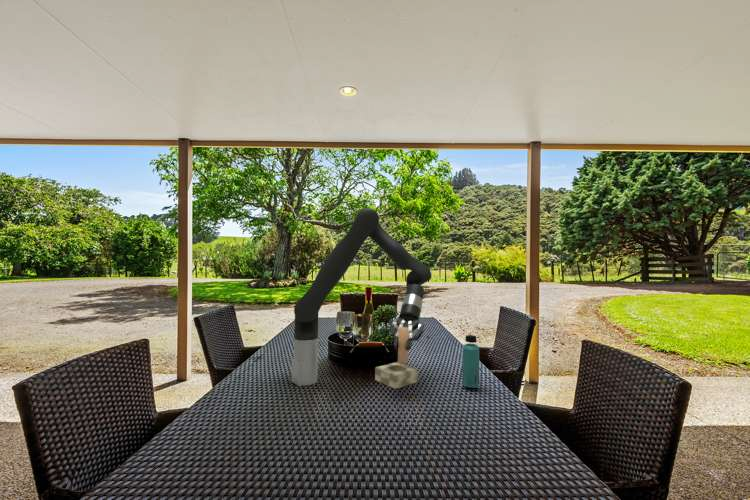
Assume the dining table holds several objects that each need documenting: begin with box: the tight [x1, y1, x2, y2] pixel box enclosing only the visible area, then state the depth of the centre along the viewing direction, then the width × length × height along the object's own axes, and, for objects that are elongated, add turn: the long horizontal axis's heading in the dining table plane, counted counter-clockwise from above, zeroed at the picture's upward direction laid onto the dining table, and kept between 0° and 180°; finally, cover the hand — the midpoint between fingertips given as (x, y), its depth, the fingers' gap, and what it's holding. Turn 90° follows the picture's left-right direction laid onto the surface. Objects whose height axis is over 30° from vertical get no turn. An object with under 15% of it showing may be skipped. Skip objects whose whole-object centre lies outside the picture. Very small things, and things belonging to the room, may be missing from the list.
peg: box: [397, 327, 409, 364], centre depth 131 cm, size 4×4×12 cm
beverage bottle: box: [461, 334, 481, 389], centre depth 140 cm, size 6×7×20 cm
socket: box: [374, 361, 419, 390], centre depth 147 cm, size 12×12×5 cm
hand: (401, 348), depth 130 cm, fingers closed on peg, 3 cm apart
